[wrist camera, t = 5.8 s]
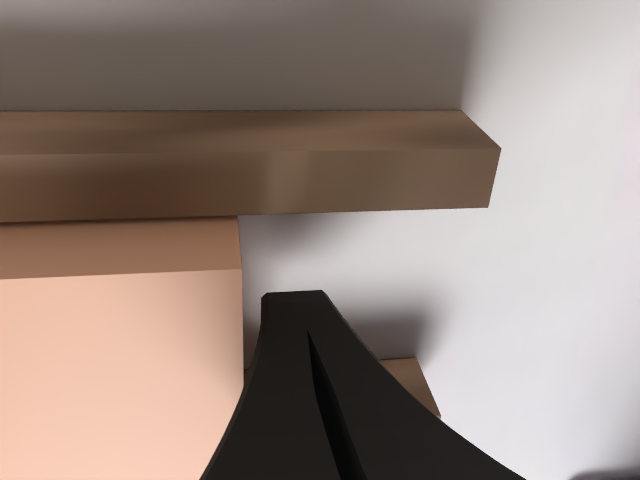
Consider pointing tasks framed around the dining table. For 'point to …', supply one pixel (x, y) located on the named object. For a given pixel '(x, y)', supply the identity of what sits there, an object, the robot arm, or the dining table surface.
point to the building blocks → (243, 169)
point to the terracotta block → (118, 346)
